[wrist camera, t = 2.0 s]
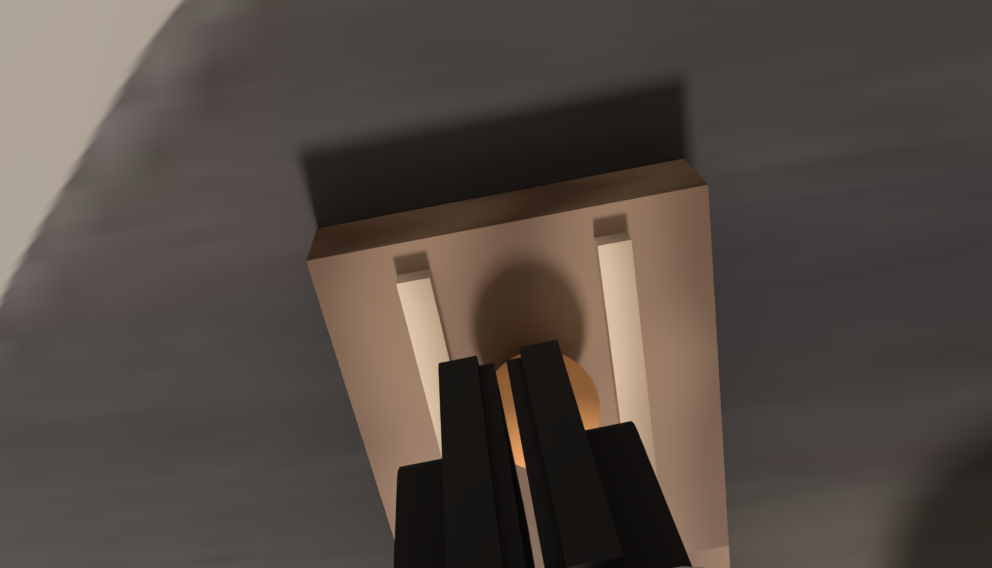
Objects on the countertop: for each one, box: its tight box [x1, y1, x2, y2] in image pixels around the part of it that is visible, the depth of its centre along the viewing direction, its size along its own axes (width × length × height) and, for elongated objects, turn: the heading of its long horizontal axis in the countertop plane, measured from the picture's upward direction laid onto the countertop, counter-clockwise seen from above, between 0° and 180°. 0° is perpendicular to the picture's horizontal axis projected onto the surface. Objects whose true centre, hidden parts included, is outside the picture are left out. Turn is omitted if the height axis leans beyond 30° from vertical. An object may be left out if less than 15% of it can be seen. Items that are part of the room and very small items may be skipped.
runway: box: [306, 159, 730, 568], centre depth 30 cm, size 12×24×3 cm, turn 10°
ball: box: [496, 355, 601, 468], centre depth 24 cm, size 4×4×4 cm
